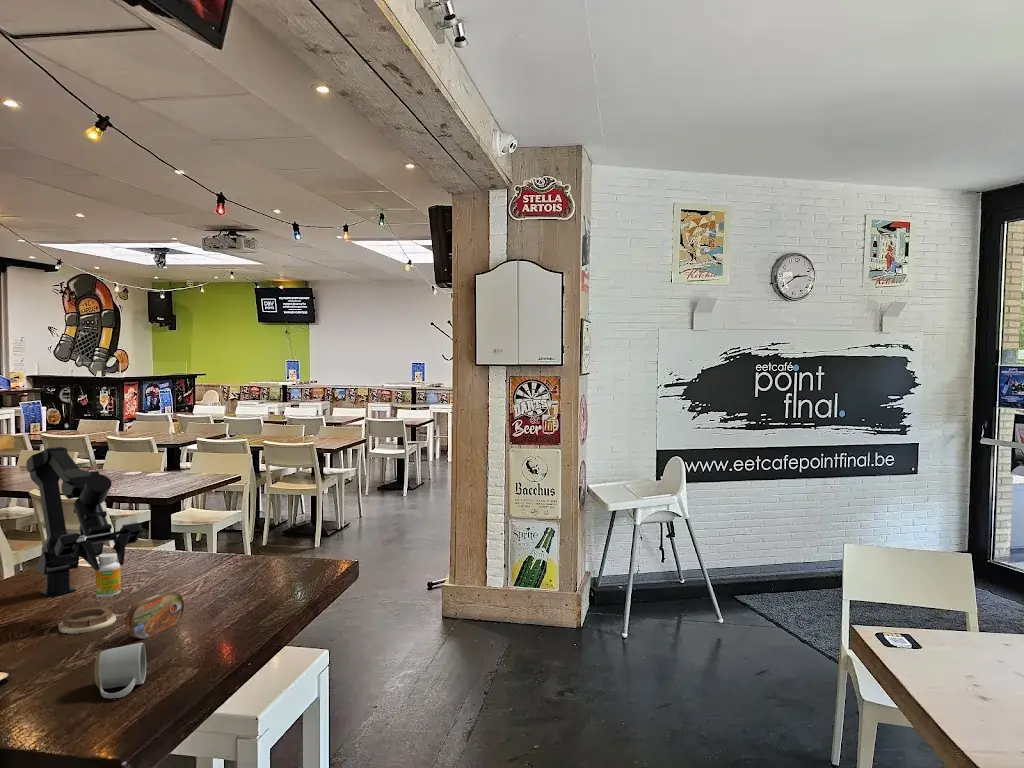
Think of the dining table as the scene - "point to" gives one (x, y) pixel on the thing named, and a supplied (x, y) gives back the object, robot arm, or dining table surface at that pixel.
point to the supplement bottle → (108, 575)
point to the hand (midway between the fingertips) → (110, 567)
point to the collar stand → (87, 620)
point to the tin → (154, 614)
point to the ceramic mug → (120, 669)
